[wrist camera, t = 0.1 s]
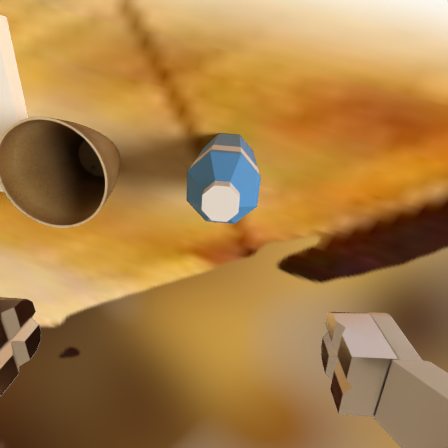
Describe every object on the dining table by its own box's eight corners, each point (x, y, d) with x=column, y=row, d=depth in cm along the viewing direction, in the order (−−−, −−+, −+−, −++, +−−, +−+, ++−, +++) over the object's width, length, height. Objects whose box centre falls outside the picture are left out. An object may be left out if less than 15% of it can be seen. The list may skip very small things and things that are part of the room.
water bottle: (238, 192, 57) (239, 258, 34) (193, 170, 55) (161, 221, 32) (263, 147, 53) (283, 185, 30) (215, 121, 52) (198, 141, 29)
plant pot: (139, 200, 58) (106, 235, 43) (61, 187, 58) (1, 218, 43) (143, 119, 52) (107, 128, 38) (57, 104, 52) (-14, 107, 37)
